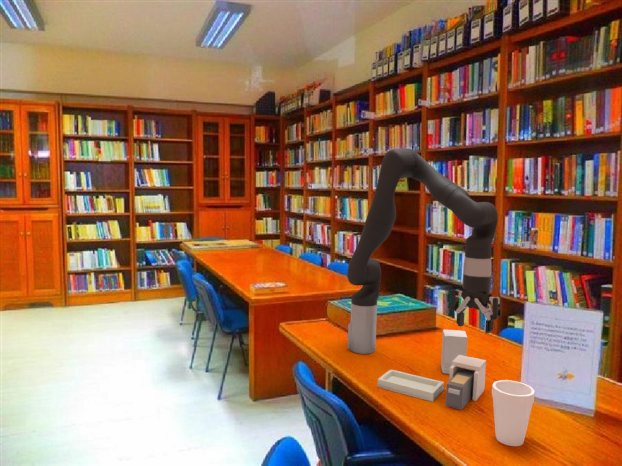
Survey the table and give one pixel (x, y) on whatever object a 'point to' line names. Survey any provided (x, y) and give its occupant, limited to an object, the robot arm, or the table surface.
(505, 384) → the foam cup
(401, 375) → the tray
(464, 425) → the table surface
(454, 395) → the grey rectangular block
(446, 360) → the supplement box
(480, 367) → the bay
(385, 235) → the robot arm
